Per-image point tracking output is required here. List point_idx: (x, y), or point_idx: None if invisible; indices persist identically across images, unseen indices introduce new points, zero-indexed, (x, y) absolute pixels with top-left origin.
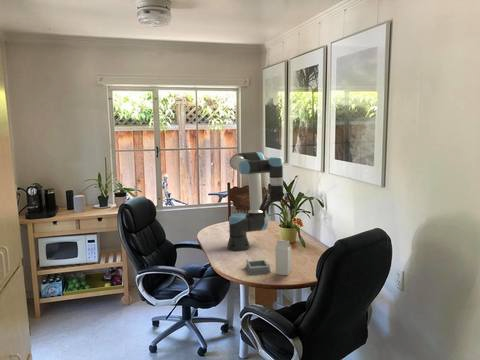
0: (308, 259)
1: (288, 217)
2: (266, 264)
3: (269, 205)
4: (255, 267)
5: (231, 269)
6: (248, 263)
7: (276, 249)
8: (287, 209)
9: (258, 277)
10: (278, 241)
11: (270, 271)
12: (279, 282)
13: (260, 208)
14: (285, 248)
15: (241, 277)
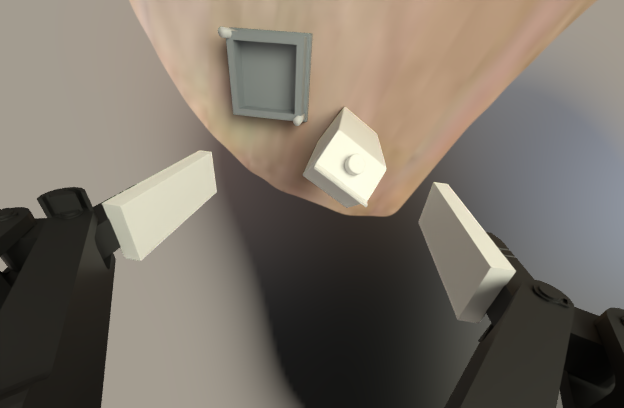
0: (527, 32)
1: (432, 229)
2: (295, 97)
3: (105, 348)
4: (250, 112)
5: (178, 35)
6: (230, 58)
7: (306, 177)
8: (485, 267)
9: (261, 142)
10: (321, 169)
11: (305, 121)
12: (308, 193)
13: (6, 277)
14: (341, 200)
15: (212, 123)
